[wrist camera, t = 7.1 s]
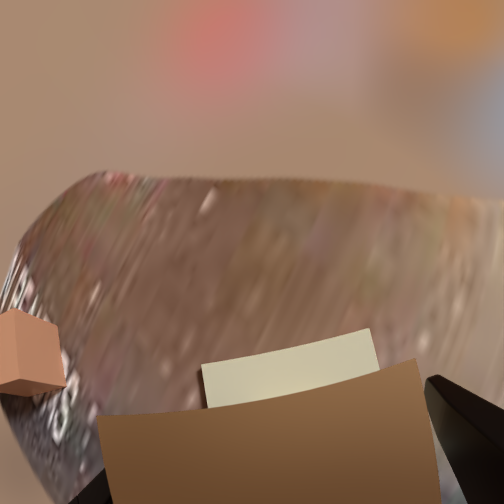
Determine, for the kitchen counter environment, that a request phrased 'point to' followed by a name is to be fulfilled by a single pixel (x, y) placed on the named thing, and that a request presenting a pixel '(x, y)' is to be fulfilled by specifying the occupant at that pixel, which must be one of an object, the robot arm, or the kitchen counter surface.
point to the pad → (289, 370)
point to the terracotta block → (29, 355)
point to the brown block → (282, 448)
